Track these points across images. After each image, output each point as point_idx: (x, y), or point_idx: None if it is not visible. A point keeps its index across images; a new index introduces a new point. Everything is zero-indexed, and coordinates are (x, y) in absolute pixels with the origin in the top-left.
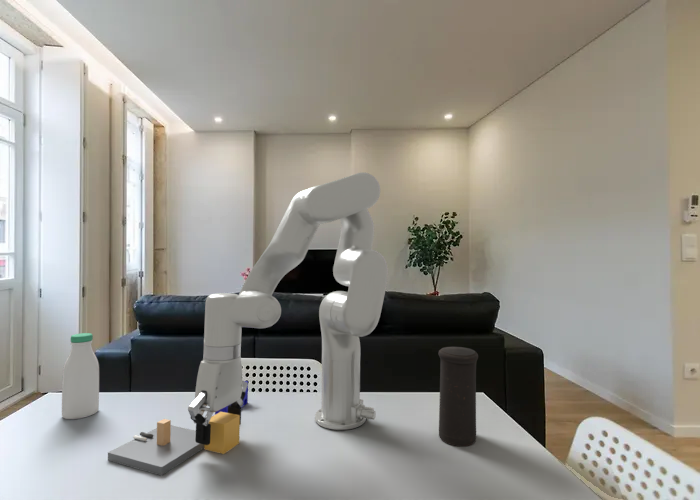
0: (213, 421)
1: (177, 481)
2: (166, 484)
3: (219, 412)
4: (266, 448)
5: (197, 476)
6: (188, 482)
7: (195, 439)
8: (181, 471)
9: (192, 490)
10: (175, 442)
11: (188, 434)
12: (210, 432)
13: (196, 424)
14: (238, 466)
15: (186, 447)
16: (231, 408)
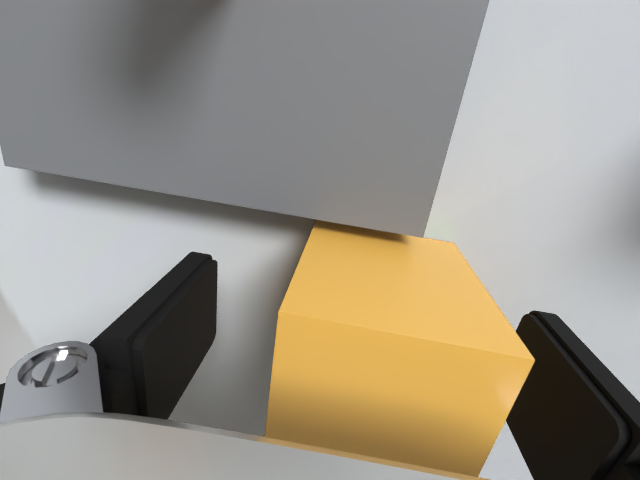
0: (285, 388)
1: (54, 254)
2: (18, 225)
3: (509, 356)
4: None
5: (117, 308)
6: (72, 297)
7: (188, 254)
8: (112, 226)
9: (48, 334)
10: (249, 28)
11: (392, 41)
12: (183, 390)
13: (116, 324)
14: (234, 412)
15: (219, 161)
16: (592, 453)
